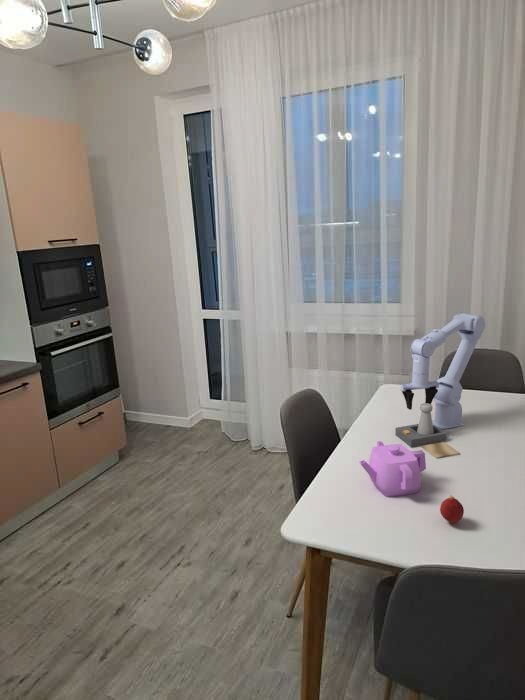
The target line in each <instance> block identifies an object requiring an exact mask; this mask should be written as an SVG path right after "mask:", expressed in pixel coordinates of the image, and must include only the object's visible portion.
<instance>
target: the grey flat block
mask: <svg viewBox="0 0 525 700" xmlns="http://www.w3.org/2000/svg"><path fill="white" fill-rule="evenodd" d="M418 425H419V423H416V424H411V425H405V426H398V427H395V436H396V437H397V438H398V439H400V440H401V441H402V442H403V443H405V444H406V445H407V446H408V447H410V448H417V447H422V446H424V445H430V444H435V443H441V442H445V441H446V442H447V433H446V432H445V431H443V429H440V428H438V427H437V426H435V425H434V424H433V430H434V433H433V434H430V435H424V436H421V435H420V434H418V433H417V429H418ZM446 442H445V443H446Z"/></svg>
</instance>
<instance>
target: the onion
mask: <svg viewBox="0 0 525 700" xmlns="http://www.w3.org/2000/svg"><path fill="white" fill-rule="evenodd" d="M464 511H465V510H464V506H463V504H462V503H461V502H460V501H459V499H457V498H455V497H454V496H453V495H452V494H451V495H449V497H447V498H446V499H444V500H443V501H442V502H441V504H440V507H439V512H440V514H441V517H443V519H445V521H447V522H448V523H450V524H454V523H458V522H459V521H460V520H462V519H463V517H464V513H465V512H464Z"/></svg>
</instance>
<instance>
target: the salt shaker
mask: <svg viewBox="0 0 525 700" xmlns="http://www.w3.org/2000/svg"><path fill="white" fill-rule="evenodd" d="M419 410H420V411H421V413H420V417H419V422H418V424H419V425H418V429H417V433H418V434H420V435H421V436H424V435H430V434H433V433H434V430H433V425H434V424H432V420H433V419H432V411H433V405H432V403H431V404H429V403H425V402H424V403H421V404H420V406H419Z"/></svg>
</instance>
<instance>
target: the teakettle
mask: <svg viewBox="0 0 525 700" xmlns="http://www.w3.org/2000/svg"><path fill="white" fill-rule="evenodd" d="M359 464H360V465H361V467H362V468H363V470H365V472H366V473H367V474H368V476H369V477H370V480H371V482H372V484H373V485H374V487H375V488H376V489H377V491H378V492H380V494H381V495H382V496H384V497H385V498H391V497H398V496H406V495H412V494H417V493H419V492H420V488H421V486H422V485H421V484H422V483H421V481H422V480H421V479H422V478H421V473H423V471H425V470H427V463H426V454H425V452H424V451H423V450H422V449H420V450H410V449H409V448H408V447H406V446H405V445H403V444H402V443H392V444H384V443H383V441H382V440H378V441H376V446H373V447H372V448H371V452H370V456H369V460H368V462H367V460H365V459H363V460H360V461H359Z"/></svg>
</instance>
